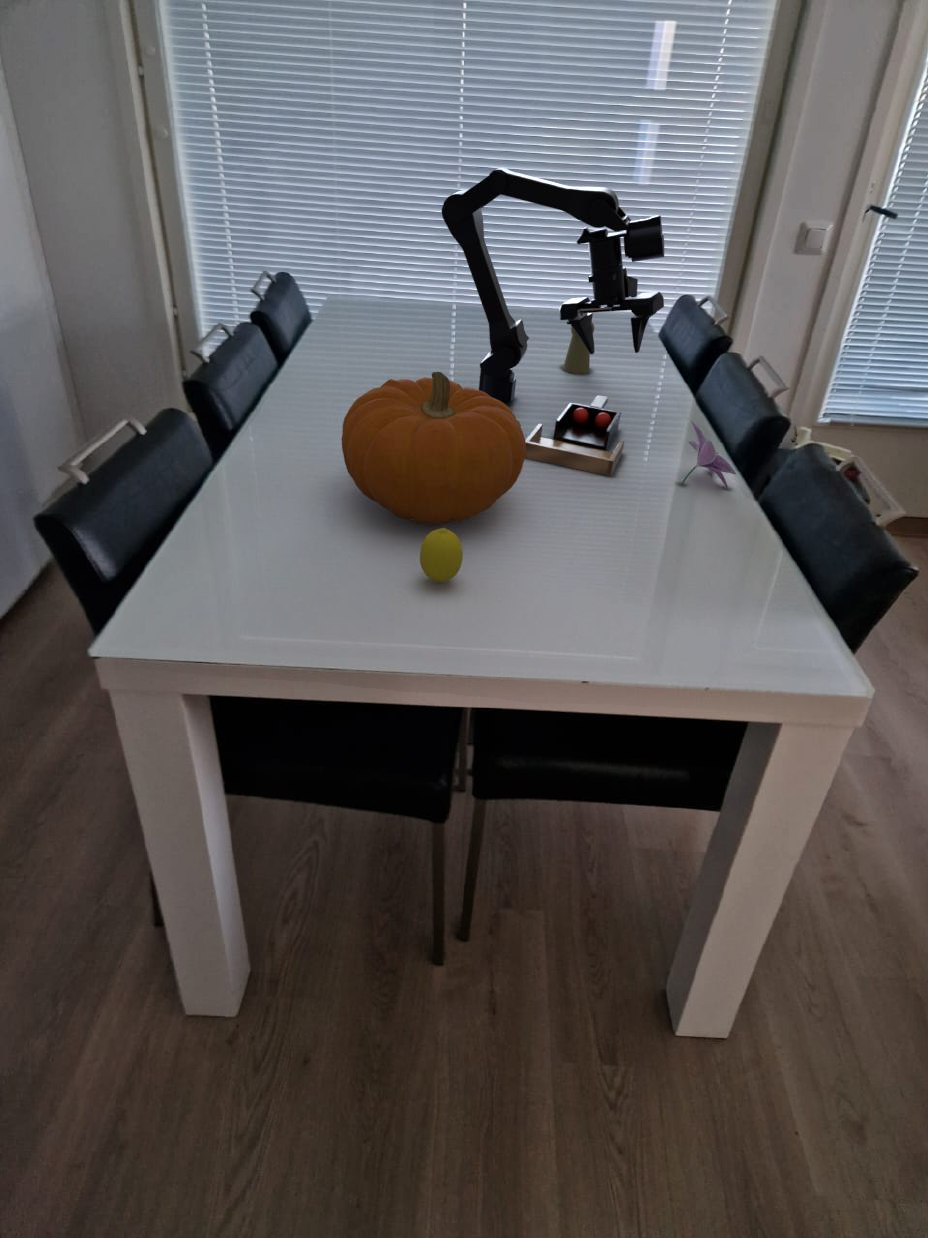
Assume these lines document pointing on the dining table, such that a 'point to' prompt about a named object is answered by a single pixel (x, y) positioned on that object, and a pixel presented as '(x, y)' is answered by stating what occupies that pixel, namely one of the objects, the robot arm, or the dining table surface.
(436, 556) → the lemon
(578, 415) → the tomato
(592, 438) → the pan
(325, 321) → the dining table surface
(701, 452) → the lily
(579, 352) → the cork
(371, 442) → the pumpkin
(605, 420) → the tomato
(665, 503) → the dining table surface
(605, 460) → the tray
